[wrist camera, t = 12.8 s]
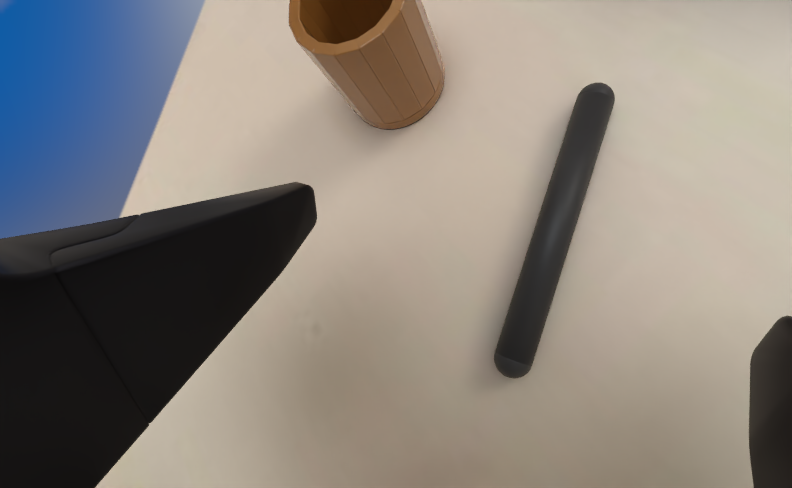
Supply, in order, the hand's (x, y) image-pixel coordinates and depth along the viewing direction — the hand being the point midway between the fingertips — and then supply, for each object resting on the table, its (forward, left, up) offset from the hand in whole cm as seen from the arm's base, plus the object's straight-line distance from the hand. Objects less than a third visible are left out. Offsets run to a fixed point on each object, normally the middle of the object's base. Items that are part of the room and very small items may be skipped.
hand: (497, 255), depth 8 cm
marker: (+6, +4, -9) cm, 12 cm away
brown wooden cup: (+3, +10, -8) cm, 13 cm away
